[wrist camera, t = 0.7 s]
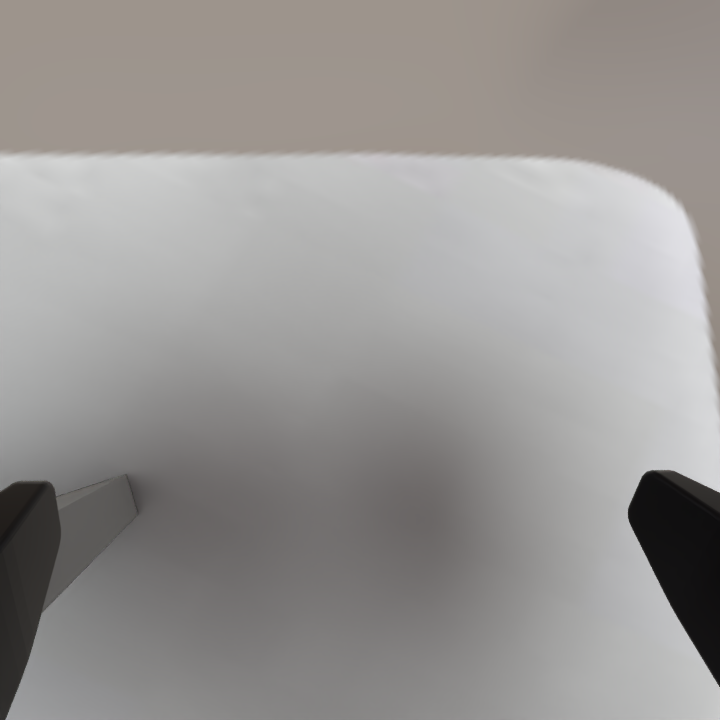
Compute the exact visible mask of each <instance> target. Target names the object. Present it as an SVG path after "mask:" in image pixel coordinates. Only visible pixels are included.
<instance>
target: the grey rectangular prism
mask: <svg viewBox="0 0 720 720" xmlns="http://www.w3.org/2000/svg"><path fill="white" fill-rule="evenodd" d="M56 500H57V506H58V512H59V518H60V524H61V541H60V546H59V550H58V554H57V558H56V561H55V565H54V569H53V572H52V576H51V580H50V584H49V587H48V591H47V595H46V598H45V602H44V606H43V609H42V612H43V611H44V610H45V609H46V608H47V607H48V606H49V605H50V604H51V603H52V602H53V601H54V600H55V599H56V598H57V597H58V596H59V595H60V594H61V593H62V592H63V591H64V590H65V589H66V588H67V587H68V586H69V585H70V584H71V583H72V582H73V581H74V580H75V579H76V578H77V577H78V575H79V574H80V573H81V572H82V571H83V570H84V569H85V568H86V567H87V566H88V565H89V564H90V563H91V562H92V561H93V560H94V559H95V558H96V557H97V556H98V555H99V554H100V553H101V552H102V551H103V550H104V549H105V548H106V547H107V546H108V545H109V544H110V543H111V542H112V541H113V540H114V539H115V538H116V537H117V536H118V535H119V533H120V532H121V531H122V530H123V529H124V528H125V527H126V526H127V525H128V524H129V523H130V522H131V521H132V520H133V519H134V518H135V517H136V516H137V515H138V512H137V509H136V505H135V502H134V499H133V495H132V492H131V489H130V485H129V482H128V478H127V475H126V474H125V475H122V476H119V477H116V478H113V479H110V480H107V481H104V482H100V483H97V484H94V485H91V486H88V487H85V488H82V489H79V490H76V491H73V492H70V493H67V494H63V495H60V496H57V497H56Z"/></svg>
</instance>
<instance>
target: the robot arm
mask: <svg viewBox="0 0 720 720" xmlns="http://www.w3.org/2000/svg"><path fill="white" fill-rule="evenodd" d="M628 519H629V522H630V525H631V527H632V529H633V531H634V533H635V535H636V537H637V539H638V541H639V543H640V545H641V547H642V549H643V551H644V553H645V555H646V557H647V559H648V561H649V563H650V565H651V567H652V569H653V571H654V573H655V575H656V577H657V579H658V581H659V583H660V585H661V587H662V589H663V591H664V593H665V595H666V597H667V599H668V601H669V603H670V605H671V607H672V609H673V610H674V612H675V614H676V616H677V617H678V619H679V621H680V623H681V624H682V626H683V628H684V629H685V631H686V632H687V634H688V636H689V637H690V639H691V641H692V642H693V644H694V646H695V647H696V649H697V651H698V652H699V654H700V656H701V657H702V659H703V660H704V662H705V664H706V665H707V667H708V669H709V670H710V672H711V674H712V675H713V677H714V679H715V680H716V682H717V684H718V685H719V687H720V493H719V492H717V491H715V490H713V489H711V488H709V487H707V486H704V485H702V484H700V483H698V482H696V481H694V480H692V479H690V478H688V477H685V476H683V475H681V474H679V473H677V472H675V471H671V470H651V471H648V472H646V473H645V474H644V475H643V476H642V478H641V480H640V482H639V485H638V487H637V489H636V492H635V494H634V496H633V498H632V501H631V503H630V505H629V508H628ZM60 541H61V524H60V518H59V512H58V506H57V500H56V494H55V489H54V487H53V485H52V483H50V482H48V481H18V482H15V483H13V484H11V485H10V486H8V487H7V488H5V489H4V490H2V491H1V492H0V720H6V717H7V715H8V712H9V709H10V707H11V704H12V702H13V699H14V697H15V694H16V692H17V689H18V687H19V684H20V682H21V679H22V676H23V673H24V671H25V668H26V665H27V662H28V660H29V656H30V653H31V649H32V646H33V643H34V639H35V635H36V632H37V628H38V624H39V621H40V617H41V613H42V609H43V606H44V602H45V598H46V595H47V591H48V587H49V584H50V580H51V576H52V572H53V569H54V565H55V561H56V558H57V554H58V550H59V546H60Z"/></svg>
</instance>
